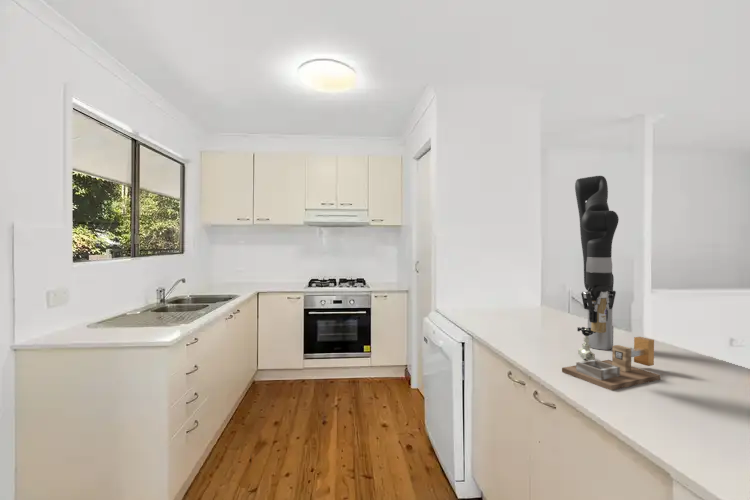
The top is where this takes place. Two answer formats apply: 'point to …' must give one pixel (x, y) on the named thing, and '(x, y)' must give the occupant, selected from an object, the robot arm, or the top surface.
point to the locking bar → (641, 351)
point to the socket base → (611, 371)
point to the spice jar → (600, 316)
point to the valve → (586, 344)
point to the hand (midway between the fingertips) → (598, 321)
